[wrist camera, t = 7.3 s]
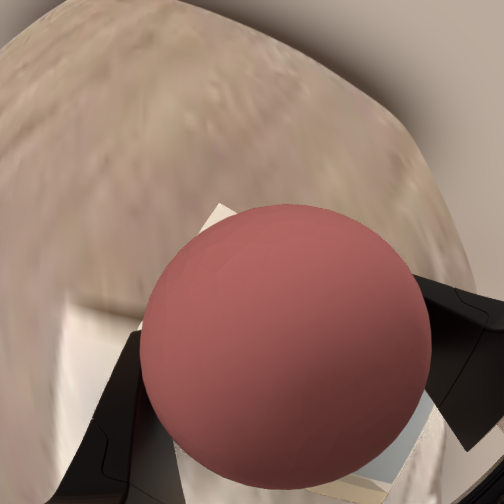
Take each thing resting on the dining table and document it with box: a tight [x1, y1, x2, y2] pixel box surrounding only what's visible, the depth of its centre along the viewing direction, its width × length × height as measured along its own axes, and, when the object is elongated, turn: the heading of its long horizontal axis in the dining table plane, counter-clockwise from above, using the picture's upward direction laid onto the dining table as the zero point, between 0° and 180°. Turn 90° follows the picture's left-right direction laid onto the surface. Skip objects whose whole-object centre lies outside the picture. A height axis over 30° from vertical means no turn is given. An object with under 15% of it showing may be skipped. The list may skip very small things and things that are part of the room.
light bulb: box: [140, 204, 432, 490], centre depth 10 cm, size 7×7×12 cm
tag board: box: [107, 203, 436, 504], centre depth 17 cm, size 21×13×3 cm, turn 60°
